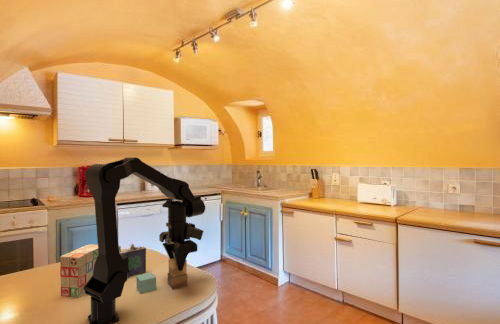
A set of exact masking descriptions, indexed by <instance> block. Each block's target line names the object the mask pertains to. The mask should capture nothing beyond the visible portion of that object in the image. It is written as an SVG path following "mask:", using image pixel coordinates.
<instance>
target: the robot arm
mask: <svg viewBox="0 0 500 324" xmlns="http://www.w3.org/2000/svg"><path fill="white" fill-rule="evenodd" d="M84 173H85V174H84V177H85V182H86V185H87V189H88V191H89V192H90V195H91V196H92V198H93V200H94V211H95V213H94V214H95V222H96V223H95V225H96V226H95V227H96V238H97V239H96V240H97V245H98V252H99V253H98V257H97V259H96V262H95V264H94V272H93V276H92V277H91V278H90V280H89V281H88V282H87V284H86V285H85V286H84V288H83V289H84V291H85V294H84V295H86V296H90V314H89V315H87V319H88V324H113V323H117V322H119V321H120V317H119V314H118V311H117V307H116V306H117V305H116V299H118V298H121V296H122V294H123V290H124V287H125V283H126V282H127V281H128V278H129V277H128V273H130V271H129V268H128V263H129V260H128V257H125V256H122V255H120V253H119V246H120V244H119V232H118V231H119V230H118V222H117V221H118V219H117V205H116V198H117V194H118V192H119V190H120V187H121V180H123V179H124V180H125V179H126V178H129V177H130V176H131V175H134V176H135V177H136V178H137V177H138V178H139V179H141V180H143V181H145V182H147V183H149V184H150V185H152V186H154V187H156V188H157V189H158V190H160V192H161V194H163V195H164V196H166V197H167V199H166V201H164V203H163V204H162V205H161V207H162V208H167V220H168V221H167V222H165V226H166V227H167V231H162V232H160V234H159V237H158V238H159V239H158V240H159V241H160V242H161V243H162V247H163V248H164V250H165V252H166V253H167V256H168V259H172V258H174V259H175V261H176V264H177V267H178V270H179V271H182V270H183V267H184V264H185V260H187V257H188V255H189V254H191V253H196V252H198V244H197V243H196V242H195V241H193V240H191V239H196V240H197V241H202V237H203V233H204V230H203V229H201V228H198V227H196V224H195V223H192V222H187V218H192V217H197V216H201V215H203V214H205V212H206V205H205V202H204V200H203V199H202V196H201V195H194V193H193V192H192V191H191V188H190V184H189V183H188V182H186V181H184V180H181V179H177V178H173V177H171V176H168V175H166V174H164V173H163V172H161V171H159V170H157V169H155V168H154V167H152V166H151V165H149V164H147V163H145V162H144V161H142V159H140V158H138V157H132V156H131V157H127V156H126V157H125V158H122V159H119V160H115V161H112V162H111V161H110V162H108V163H94V164H91V165H90V166H89V167H88V168H87V169H86V170H85V172H84ZM172 199H173V200H172Z"/></svg>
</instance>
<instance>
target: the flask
mask: <svg viewBox="0 0 500 324" xmlns="http://www.w3.org/2000/svg"><path fill="white" fill-rule="evenodd" d="M120 255H122V256H125V257H128V260H129V263H128V268H129V271H130V273H128V278H130V277H134V276H138V275H142V274H146V273H147V272H146V271H147V247H145V246H137V247H136V246H135V244H134V243H132V244H130V246H129V249H126V250H121V252H120Z"/></svg>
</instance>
